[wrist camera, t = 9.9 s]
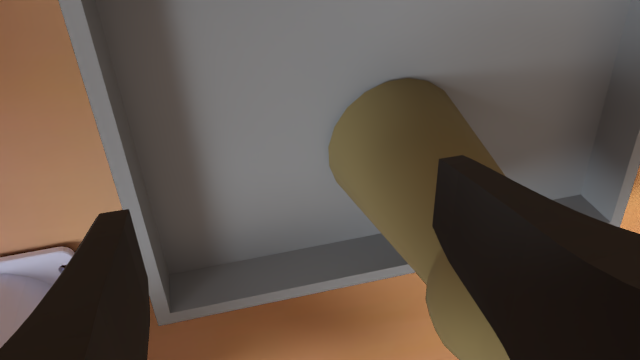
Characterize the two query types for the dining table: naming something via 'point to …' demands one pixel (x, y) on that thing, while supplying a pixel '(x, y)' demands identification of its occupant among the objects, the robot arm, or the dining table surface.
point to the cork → (413, 193)
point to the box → (323, 114)
